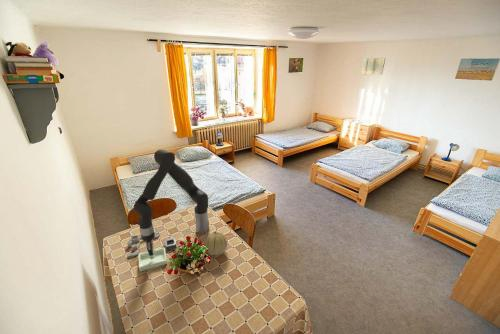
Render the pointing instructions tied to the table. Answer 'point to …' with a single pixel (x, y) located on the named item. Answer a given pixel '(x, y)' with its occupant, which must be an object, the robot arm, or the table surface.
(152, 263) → the tray
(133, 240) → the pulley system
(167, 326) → the table surface
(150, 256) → the lock pin
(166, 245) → the tensioner block
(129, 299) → the table surface
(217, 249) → the cantaloupe
